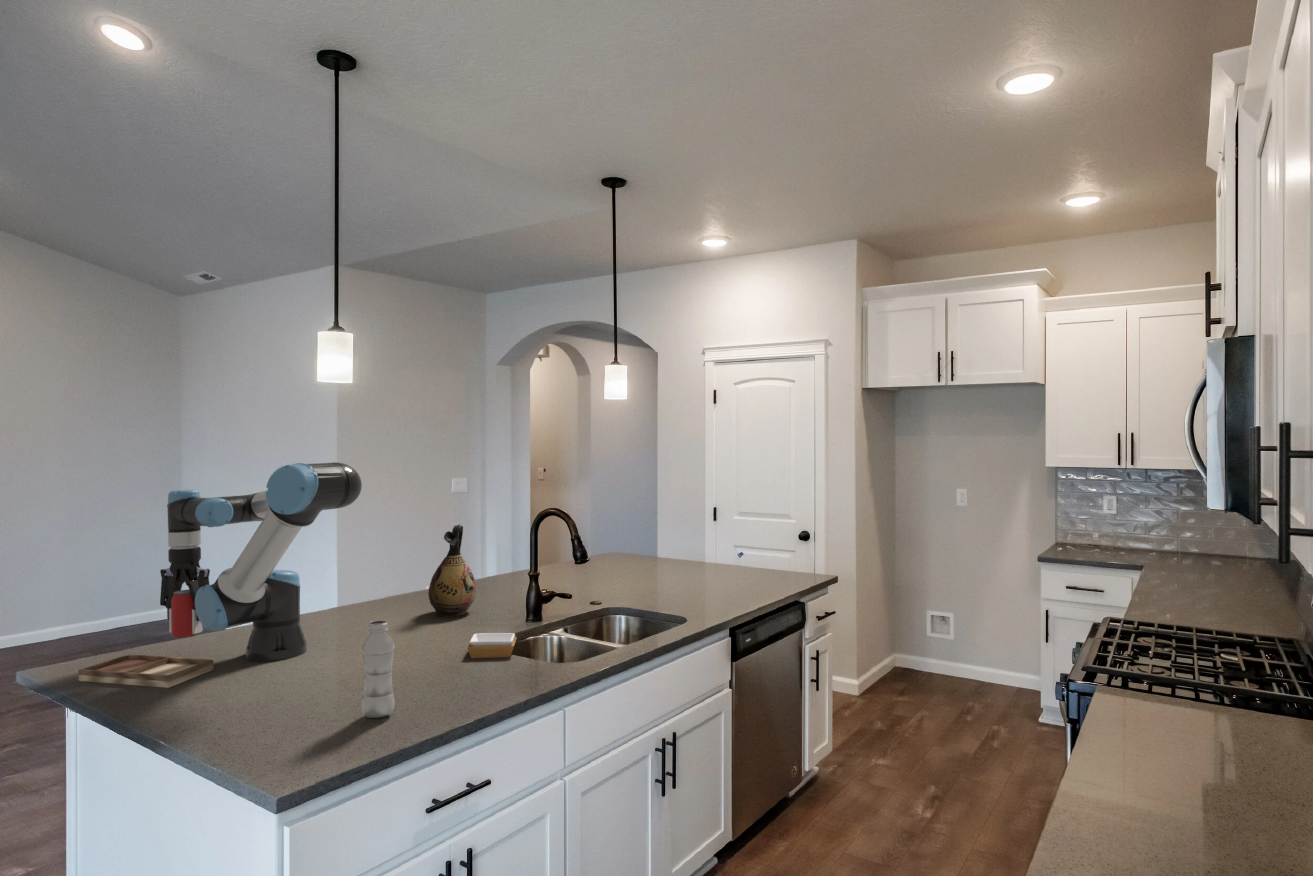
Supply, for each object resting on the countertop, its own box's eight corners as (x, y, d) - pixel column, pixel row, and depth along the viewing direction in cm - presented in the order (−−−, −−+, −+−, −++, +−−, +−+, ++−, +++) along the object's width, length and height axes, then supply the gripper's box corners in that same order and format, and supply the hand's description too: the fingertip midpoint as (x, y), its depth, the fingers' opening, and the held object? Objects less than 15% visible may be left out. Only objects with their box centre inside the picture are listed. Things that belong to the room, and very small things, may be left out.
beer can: (186, 639, 205) (186, 594, 205) (165, 638, 207) (164, 593, 207) (205, 633, 212) (205, 589, 212) (185, 632, 213) (184, 588, 213)
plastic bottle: (366, 711, 168) (366, 619, 168) (398, 710, 169) (397, 618, 169) (357, 722, 162) (357, 626, 162) (390, 721, 162) (390, 625, 162)
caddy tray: (213, 670, 198) (213, 659, 198) (168, 687, 185) (168, 676, 185) (128, 664, 204) (128, 654, 204) (78, 681, 190) (78, 670, 190)
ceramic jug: (469, 621, 251) (469, 528, 251) (422, 621, 251) (422, 528, 251) (482, 609, 268) (482, 522, 268) (437, 609, 268) (437, 522, 268)
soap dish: (466, 661, 207) (466, 642, 206) (472, 651, 216) (471, 632, 216) (514, 659, 208) (514, 640, 208) (517, 649, 217) (517, 631, 217)
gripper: (226, 545, 211) (227, 630, 211) (165, 544, 215) (166, 627, 215) (204, 549, 204) (206, 637, 204) (142, 548, 208) (143, 634, 208)
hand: (185, 632), depth 209 cm, fingers closed on beer can, 7 cm apart
